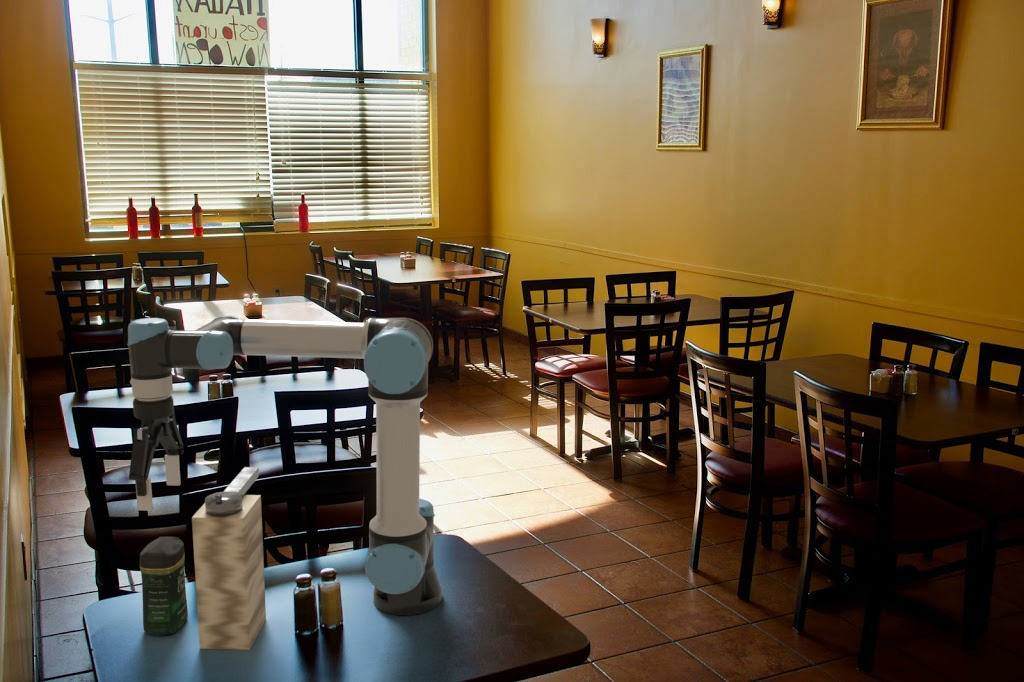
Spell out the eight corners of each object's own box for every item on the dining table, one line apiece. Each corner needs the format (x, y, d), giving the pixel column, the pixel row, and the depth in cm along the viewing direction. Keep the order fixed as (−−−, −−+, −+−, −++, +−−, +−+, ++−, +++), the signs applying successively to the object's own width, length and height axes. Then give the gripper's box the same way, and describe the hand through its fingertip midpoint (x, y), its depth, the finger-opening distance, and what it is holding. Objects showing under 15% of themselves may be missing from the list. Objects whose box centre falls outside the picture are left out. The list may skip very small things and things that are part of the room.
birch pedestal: (266, 619, 193) (260, 495, 187) (249, 649, 181) (243, 518, 176) (219, 618, 193) (212, 494, 187) (199, 648, 181) (191, 517, 176)
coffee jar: (177, 637, 185) (172, 553, 182) (138, 637, 185) (132, 552, 181) (193, 613, 195) (188, 533, 191) (156, 613, 195) (150, 532, 191)
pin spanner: (235, 475, 198) (235, 457, 197) (267, 476, 198) (267, 458, 197) (200, 516, 176) (199, 496, 175) (236, 517, 176) (235, 497, 175)
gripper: (160, 380, 193) (167, 474, 197) (103, 413, 169) (112, 520, 173) (195, 381, 193) (201, 475, 197) (143, 414, 168) (151, 521, 173)
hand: (160, 497), depth 185 cm, fingers open, 13 cm apart
